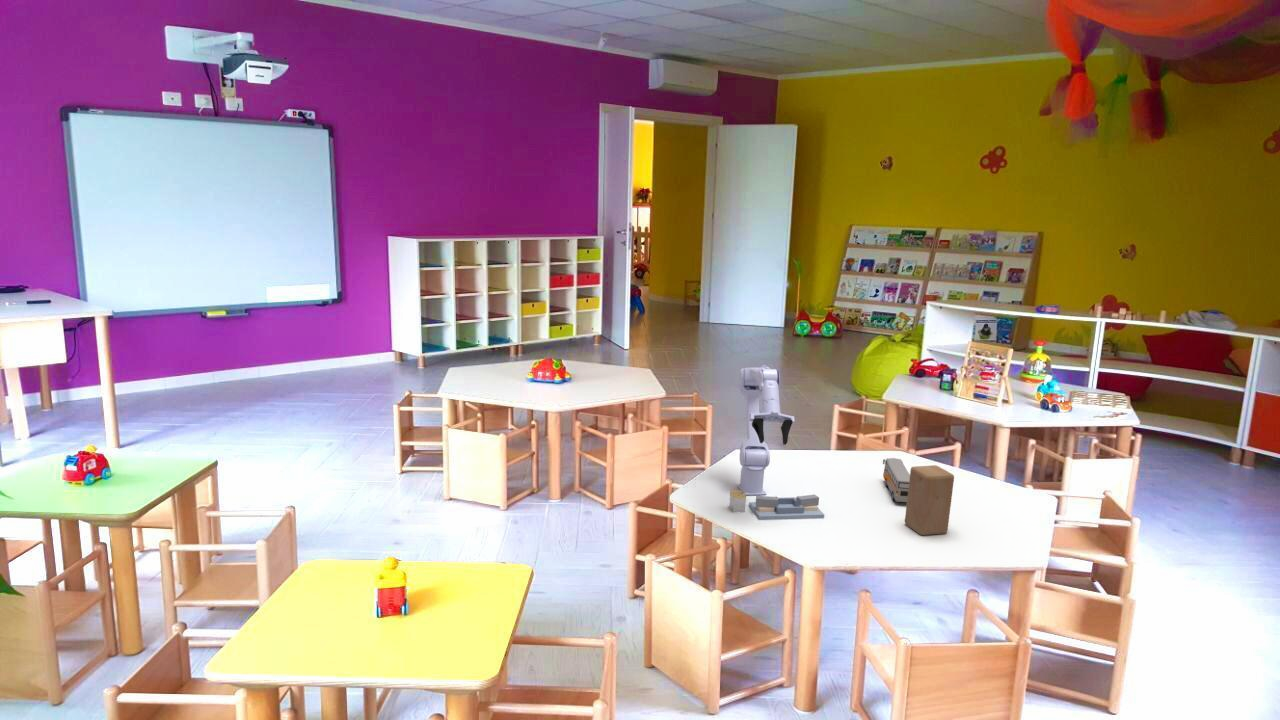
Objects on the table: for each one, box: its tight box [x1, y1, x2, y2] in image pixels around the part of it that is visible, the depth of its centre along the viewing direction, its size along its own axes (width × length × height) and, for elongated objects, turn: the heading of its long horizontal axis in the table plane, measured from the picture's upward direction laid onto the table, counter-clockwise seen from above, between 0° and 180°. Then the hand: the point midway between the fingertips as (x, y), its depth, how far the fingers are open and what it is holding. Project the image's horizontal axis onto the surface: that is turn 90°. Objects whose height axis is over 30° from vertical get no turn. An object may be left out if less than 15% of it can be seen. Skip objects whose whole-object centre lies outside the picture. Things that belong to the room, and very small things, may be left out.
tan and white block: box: [728, 489, 747, 513], centre depth 281 cm, size 5×4×6 cm
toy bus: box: [882, 457, 910, 503], centre depth 301 cm, size 7×26×10 cm, turn 174°
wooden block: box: [904, 464, 955, 536], centre depth 270 cm, size 10×10×20 cm
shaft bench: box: [748, 494, 825, 521], centre depth 281 cm, size 12×22×5 cm, turn 99°
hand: (773, 442), depth 266 cm, fingers open, 7 cm apart
